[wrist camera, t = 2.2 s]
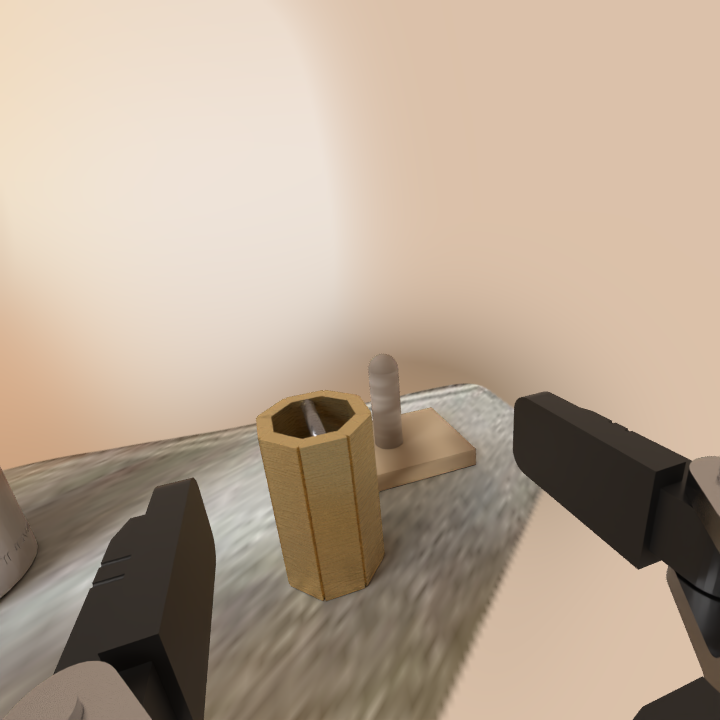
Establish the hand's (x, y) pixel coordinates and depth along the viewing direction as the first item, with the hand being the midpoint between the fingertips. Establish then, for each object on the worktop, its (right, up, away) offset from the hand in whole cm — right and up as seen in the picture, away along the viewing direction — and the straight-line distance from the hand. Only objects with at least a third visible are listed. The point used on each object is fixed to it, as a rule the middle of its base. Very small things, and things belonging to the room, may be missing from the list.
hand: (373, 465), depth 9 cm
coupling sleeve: (-2, -10, +15) cm, 18 cm away
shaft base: (+2, -6, +25) cm, 25 cm away
